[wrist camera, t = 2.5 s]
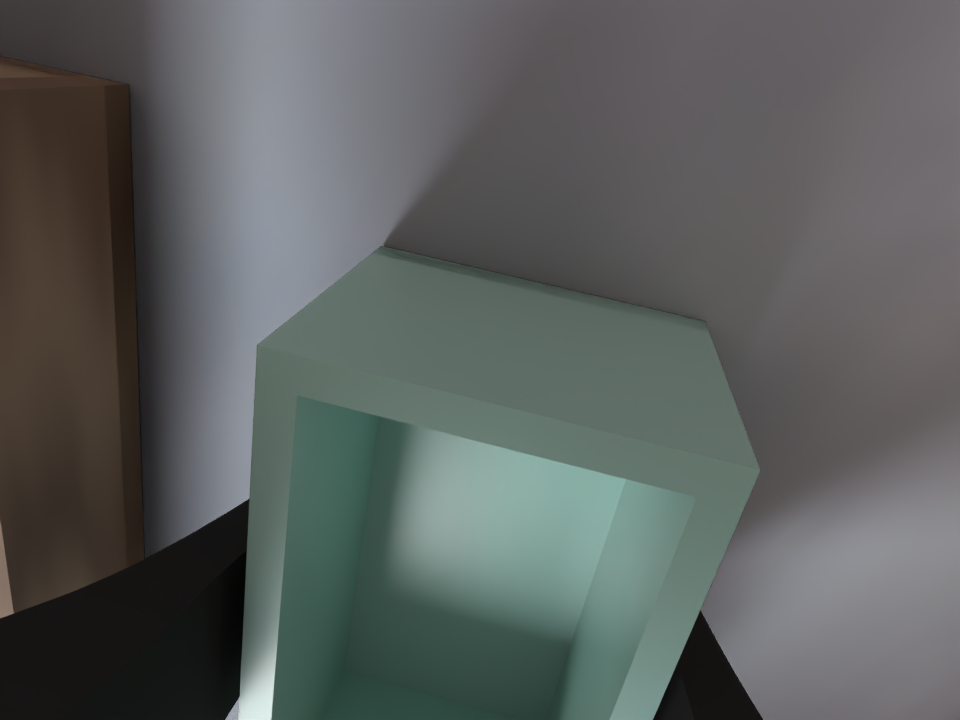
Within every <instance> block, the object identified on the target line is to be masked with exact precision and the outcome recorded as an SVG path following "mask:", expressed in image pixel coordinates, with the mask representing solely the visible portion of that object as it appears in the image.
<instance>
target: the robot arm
mask: <svg viewBox="0 0 960 720" xmlns="http://www.w3.org/2000/svg"><path fill="white" fill-rule="evenodd" d="M248 518H249V499H248V500H247V501H245V502H243V503H242V504H240V505H239V506H237V507H235V508H234V509H232V510H231V511H229V512H227V513H226V514H224V515H222V516H221V517H219V518H217V519H216V520H214V521H212V522H210V523H209V524H207V525H205V526H204V527H202V528H200V529H199V530H197V531H195V532H194V533H192V534H190V535H188V536H187V537H185V538H183V539H181V540H179V541H177V542H176V543H174V544H172V545H170V546H168V547H166V548H164V549H162V550H161V551H159V552H157V553H155V554H153V555H151V556H149V557H148V558H146V559H144V560H142V561H140V562H138V563H136V564H134V565H132V566H130V567H128V568H125V569H123V570H121V571H119V572H117V573H115V574H112V575H110V576H108V577H106V578H103V579H101V580H99V581H96V582H94V583H92V584H89V585H87V586H85V587H83V588H80V589H78V590H75V591H73V592H70V593H68V594H65V595H62V596H60V597H57V598H54V599H52V600H49V601H46V602H43V603H41V604H38V605H35V606H33V607H30V608H27V609H24V610H22V611H19V612H16V613H14V614H11V615H8V616H5V617H2V618H0V720H225V719H226V717H227V716H228V714H229V712H230V711H231V709H232V708H233V706H234V705H235V703H236V701H237V700H238V698H239V697H240V679H241V659H242V639H243V619H244V599H245V579H246V559H247V538H248ZM653 720H763V719H762V717H761V716H760V714H759V712H758V711H757V709H756V707H755V706H754V704H753V703H752V701H751V699H750V698H749V696H748V694H747V693H746V691H745V689H744V688H743V686H742V684H741V682H740V681H739V679H738V677H737V676H736V674H735V672H734V670H733V669H732V667H731V665H730V664H729V662H728V660H727V658H726V656H725V655H724V653H723V651H722V649H721V647H720V646H719V644H718V642H717V640H716V638H715V636H714V635H713V633H712V631H711V629H710V627H709V625H708V623H707V621H706V620H705V618H704V616H703V614H702V612H701V610H700V612H699V614H698V616H697V619H696V621H695V623H694V626H693V628H692V630H691V633H690V635H689V637H688V640H687V642H686V644H685V647H684V649H683V651H682V653H681V656H680V658H679V660H678V663H677V665H676V667H675V670H674V672H673V674H672V677H671V679H670V681H669V684H668V686H667V688H666V690H665V693H664V695H663V697H662V700H661V702H660V704H659V707H658V709H657V711H656V714H655V716H654V718H653Z"/></svg>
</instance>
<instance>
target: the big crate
mask: <svg viewBox="0 0 960 720" xmlns="http://www.w3.org/2000/svg"><path fill="white" fill-rule="evenodd" d="M142 560H144V539H143V508H142V477H141V446H140V416H139V385H138V354H137V323H136V293H135V262H134V231H133V200H132V169H131V139H130V108H129V85H128V84H123V83H119V82H114V81H110V80H105V79H101V78H96V77H92V76H87V75H83V74H78V73H73V72H69V71H64V70H60V69H55V68H51V67H46V66H42V65H37V64H33V63H28V62H23V61H19V60H14V59H10V58H5V57H1V56H0V618H2V617H5V616H8V615H11V614H14V613H16V612H19V611H22V610H24V609H27V608H30V607H33V606H35V605H38V604H41V603H43V602H46V601H49V600H52V599H54V598H57V597H60V596H62V595H65V594H68V593H70V592H73V591H75V590H78V589H80V588H83V587H85V586H87V585H89V584H92V583H94V582H96V581H99V580H101V579H103V578H106V577H108V576H110V575H112V574H115V573H117V572H119V571H121V570H123V569H125V568H128V567H130V566H132V565H134V564H136V563H138V562H140V561H142Z"/></svg>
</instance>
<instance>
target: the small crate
mask: <svg viewBox="0 0 960 720" xmlns="http://www.w3.org/2000/svg"><path fill="white" fill-rule="evenodd" d="M760 471H761V470H760V468H759V465H758V462H757V460H756V457H755V454H754V451H753V449H752V446H751V443H750V441H749V438H748V435H747V433H746V430H745V427H744V424H743V422H742V419H741V416H740V414H739V411H738V408H737V406H736V403H735V400H734V398H733V395H732V392H731V389H730V387H729V384H728V381H727V379H726V376H725V373H724V371H723V368H722V365H721V363H720V360H719V357H718V354H717V352H716V349H715V346H714V344H713V341H712V338H711V336H710V333H709V330H708V328H707V325H706V322H705V321H701V320H697V319H693V318H688V317H684V316H680V315H675V314H671V313H667V312H663V311H658V310H654V309H650V308H645V307H641V306H637V305H633V304H628V303H624V302H620V301H615V300H611V299H607V298H603V297H598V296H594V295H590V294H585V293H581V292H577V291H573V290H568V289H564V288H560V287H555V286H551V285H547V284H543V283H538V282H534V281H530V280H525V279H521V278H517V277H513V276H508V275H504V274H500V273H495V272H491V271H487V270H483V269H478V268H474V267H470V266H465V265H461V264H457V263H453V262H448V261H444V260H440V259H435V258H431V257H427V256H423V255H418V254H414V253H410V252H405V251H401V250H397V249H393V248H388V247H384V246H381V247H380V248H378V249H377V250H376V251H375V252H373V253H372V254H371V255H370V256H368V257H367V258H366V259H365V260H363V261H362V262H361V263H359V264H358V265H357V266H356V267H354V268H353V269H352V270H351V271H349V272H348V273H347V274H346V275H344V276H343V277H342V278H341V279H339V280H338V281H337V282H336V283H334V284H333V285H332V286H331V287H329V288H328V289H327V290H325V291H324V292H323V293H322V294H320V295H319V296H318V297H317V298H315V299H314V300H313V301H312V302H310V303H309V304H308V305H307V306H305V307H304V308H303V309H302V310H300V311H299V312H298V313H297V314H295V315H294V316H293V317H292V318H290V319H289V320H288V321H286V322H285V323H284V324H283V325H281V326H280V327H279V328H278V329H276V330H275V331H274V332H273V333H271V334H270V335H269V336H268V337H266V338H265V339H264V340H263V341H261V342H260V343H259V344H258V345H257V358H256V378H255V398H254V418H253V438H252V458H251V478H250V498H249V518H248V538H247V559H246V579H245V599H244V619H243V639H242V659H241V679H240V699H239V719H238V720H653V718H654V716H655V714H656V711H657V709H658V707H659V704H660V702H661V700H662V697H663V695H664V693H665V690H666V688H667V686H668V684H669V681H670V679H671V677H672V674H673V672H674V670H675V667H676V665H677V663H678V660H679V658H680V656H681V653H682V651H683V649H684V647H685V644H686V642H687V640H688V637H689V635H690V633H691V630H692V628H693V626H694V623H695V621H696V619H697V616H698V614H699V612H700V609H701V607H702V605H703V603H704V600H705V598H706V596H707V593H708V591H709V589H710V586H711V584H712V582H713V579H714V577H715V575H716V572H717V570H718V568H719V566H720V563H721V561H722V559H723V556H724V554H725V552H726V549H727V547H728V545H729V542H730V540H731V538H732V535H733V533H734V531H735V529H736V526H737V524H738V522H739V519H740V517H741V515H742V512H743V510H744V508H745V505H746V503H747V501H748V498H749V496H750V494H751V491H752V489H753V487H754V485H755V482H756V480H757V478H758V475H759V473H760Z"/></svg>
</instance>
